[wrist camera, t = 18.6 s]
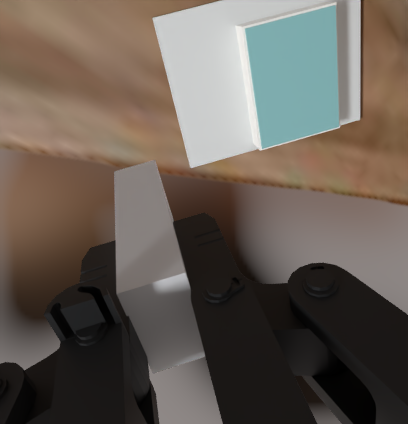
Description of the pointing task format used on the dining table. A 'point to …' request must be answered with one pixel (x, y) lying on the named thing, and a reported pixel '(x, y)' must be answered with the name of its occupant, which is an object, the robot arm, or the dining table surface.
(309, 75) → the tile
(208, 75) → the mat
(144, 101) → the dining table surface
